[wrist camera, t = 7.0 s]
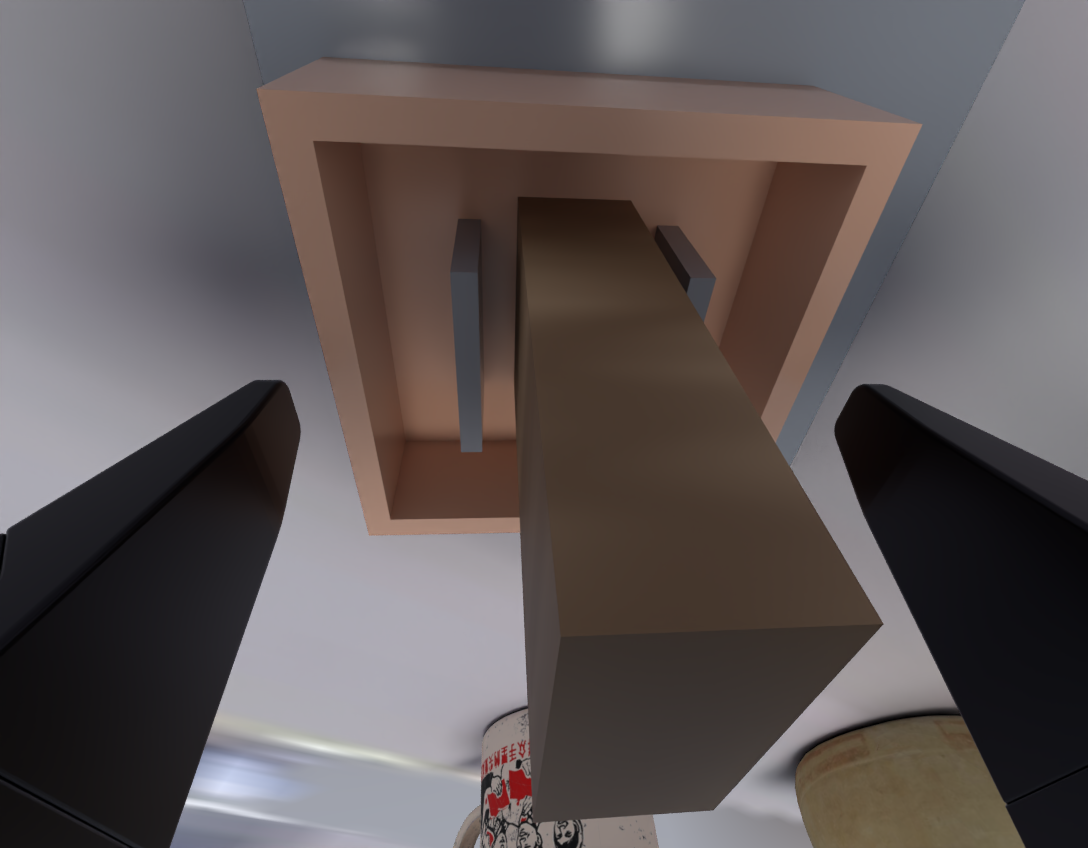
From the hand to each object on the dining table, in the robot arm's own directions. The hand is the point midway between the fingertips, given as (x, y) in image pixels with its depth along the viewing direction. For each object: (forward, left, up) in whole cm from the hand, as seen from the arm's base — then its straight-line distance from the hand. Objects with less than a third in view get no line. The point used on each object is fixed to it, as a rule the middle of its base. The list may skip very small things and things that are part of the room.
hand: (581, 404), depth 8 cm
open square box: (0, 0, -4) cm, 4 cm away
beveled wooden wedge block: (0, 0, -3) cm, 3 cm away
